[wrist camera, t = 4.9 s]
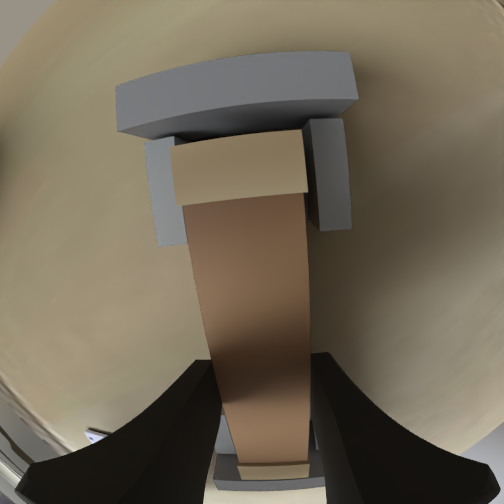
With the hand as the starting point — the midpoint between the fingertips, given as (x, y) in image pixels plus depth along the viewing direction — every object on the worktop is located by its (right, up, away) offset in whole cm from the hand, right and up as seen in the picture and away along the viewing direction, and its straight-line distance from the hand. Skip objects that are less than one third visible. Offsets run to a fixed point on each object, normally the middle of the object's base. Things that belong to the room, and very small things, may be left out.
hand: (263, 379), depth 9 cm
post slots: (0, +1, +5) cm, 5 cm away
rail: (0, +1, +5) cm, 5 cm away
